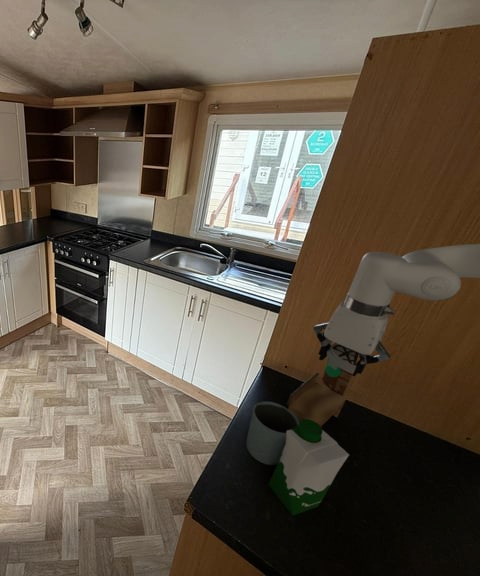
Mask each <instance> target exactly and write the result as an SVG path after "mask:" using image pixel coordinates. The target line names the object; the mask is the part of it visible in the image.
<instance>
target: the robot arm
mask: <svg viewBox="0 0 480 576" xmlns="http://www.w3.org/2000/svg"><path fill="white" fill-rule="evenodd" d="M461 278H467V279H469V278H471V279H480V243H472V244H471V243H470V244H455V245H446V246H438V247H431V248H424V249H418V250H414V251H411V252H408V253H406V254H404V255H403V256H400V255H398V254H396V253H390V252H387V251H370V252H367V253H365V254H364V255H363V256H362V258H361V260H360V263H359V265H358V267H357V270H356V272H355V275H354V278H353V280H352V282H351V285H350V287H349V290H348V291H347V294H346V297H345V299H344V301H342V302H340V303H339V305H338V306H337V308H336V309H335V311H334V313H333V314H332V315H331V317H330V319H329V320H328V322H324V323H319V324H316V325H314V326H313V327H312V329H313V332H314V333H315V334H316V337H317V339H318V341H319V344H320V349H319V351H318V355H319V358H318V360H319V361H323V360H324V359H325V358H328V356H327V351H328V349H329V348H330V347H331V346H332V345H331V343H337V344H340V345H342V346H344V347H347V348H349V349H351V350H354V351H356V352H358V353H359V355H358V358H359V360H357V361H356V365H355V366H356V368H355V371H354V373H353V375H352V377H356V376H357V375H358V374H359V375H362V373H363V372H364V370H365V368H366V366H367V365H370V364H376V363H379V362H385V361H389V360H390V358H391V357H392V356H391V355H390V353H389V352H388V350H387V349H386V347H385V346H384V345H383V344H382V339H383V337H384V335H385V332H386V328H387V325H388V321H389V316H388V315H390V316H394V315H395V313H396V309H394V308H392V307H391V306H390V305H391V301H392V299H393V297H394V295H395V293H401V294H403V295H406V296H409V297H413V298H416V299H420V300H426V301H442V300H446V299H449V298H451V297H453V296H455V295H456V294H457V293H458V292H459V291H460V290H461V287H462V281H461V280H462V279H461ZM323 330H324V332H323ZM374 351H376V352H377V353H378V355H377V354H376V355H375V354H374V355H372V354H373V352H374Z"/></svg>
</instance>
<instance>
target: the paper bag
mask: <svg viewBox="0 0 480 576" xmlns="http://www.w3.org/2000/svg"><path fill="white" fill-rule="evenodd" d="M319 376H320V373H318V372H316V373H314V374H313V375H312V376H311V377H310V378H308V379H307V380H306V381H304V383H302V384H301V385H300V386H299V387H298V388H297V389H296V390H294V391H293V392H291V394H290V395H289V397H288V400H287V402H286V406H288V408H287V409H288V410H290V411H291V412H292V413H293V414H294V415H295V416H296V417H297V419H298V421H299V423H300V421H301V420H302V419H309V420H312V421H314V422H316V423H317V424H318V425H319V426H320V427H321V428H322V427H323V425H325V424H326V422H328V420H329V419H330V418H331V417H332V416H333V417H334V418H338V417H339V415H340V413H341V411H342V409H343V407H344V405H345V403H346V400H347V397H345V396H344V395H343V396H341V395H339V394H337V393H335V392H334V391H332V390H331V389H329V388H328V387H327V386H326V385H323V384H321V383H319V382H317V381H318V380H319Z"/></svg>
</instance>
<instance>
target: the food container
mask: <svg viewBox="0 0 480 576" xmlns="http://www.w3.org/2000/svg"><path fill="white" fill-rule="evenodd" d="M358 358H359V353H358V352H356V351H354V350H351V349H349V348H347V347H344V346H342V345H340V344H337V343H335V342H333V344H332V345H331V347H330V348H329V349H328V351H327V360H326V361H327V362H326V364H325V368H324V370H323V375H322V382H323V383H324V386H325V387H327V388H329V389H331V390H332V391H334V392H335V393H337V394H339V395H341V396H344V393H345V391H346V389H347V388H348V385H349V383H350V380H351V379H352V377H353V376H352V375H353V373H354V371H355V368H356V366H355V365H356V363H357V362H358Z"/></svg>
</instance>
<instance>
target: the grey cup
mask: <svg viewBox="0 0 480 576" xmlns="http://www.w3.org/2000/svg"><path fill="white" fill-rule="evenodd" d="M298 425H299V421H298V419H297V417H296V416H295V415H294V414H293V413H292V412H291V411H290V410H288V408H287V407H286V406H283V405H281V404H279V403H277V402H273V401H260V402H257V403H256V404H255V405H254V406H253V407H252V413H251V420H250V423H249V427H248V432H247V435H246V436H247V437H246V441H245V445H246V449H247V451H248V453H249V454H250V455H251V457H253V459H255V460H256V461H258V462H259V463H261V464H264V465H268V466H275V465H276V466H277V464H278V462H279V459H280V457H281V454H282V452H283V449H284V447H285V444H286V432H287V431H288V430H291V429H293V428H295V427H296V426H298Z"/></svg>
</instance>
